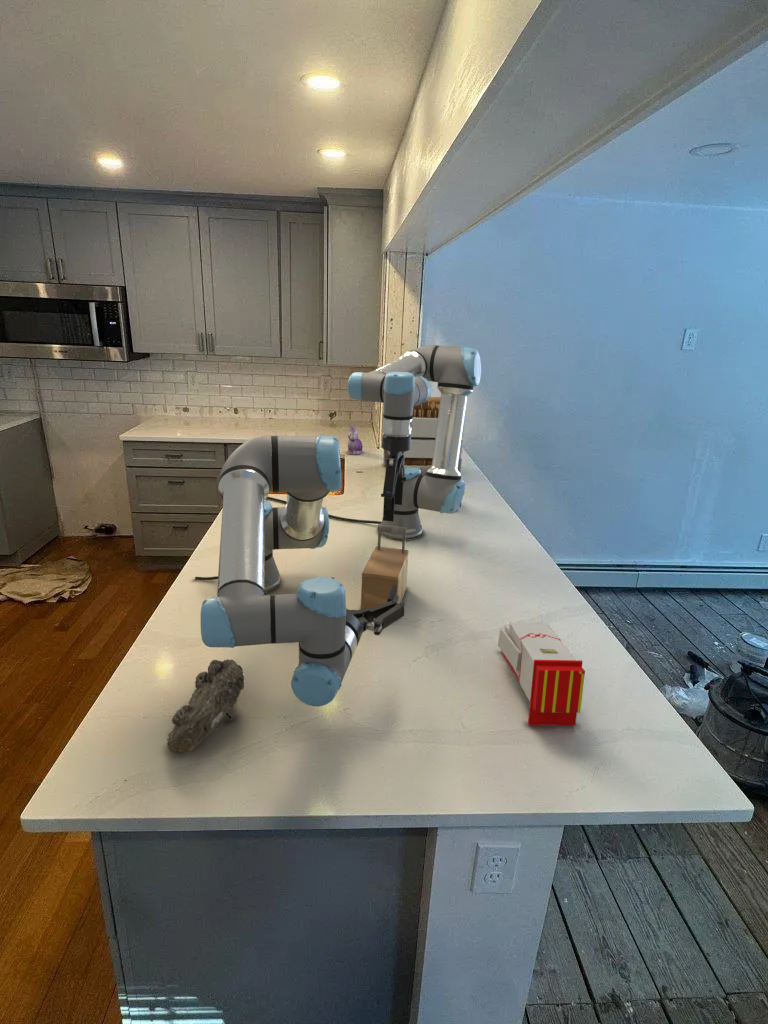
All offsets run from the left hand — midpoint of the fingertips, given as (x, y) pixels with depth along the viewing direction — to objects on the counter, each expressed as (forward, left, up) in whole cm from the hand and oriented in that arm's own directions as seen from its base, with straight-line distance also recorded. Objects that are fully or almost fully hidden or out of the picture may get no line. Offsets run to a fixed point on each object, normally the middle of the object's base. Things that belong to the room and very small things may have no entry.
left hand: (363, 586), depth 122 cm
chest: (0, +28, -18) cm, 33 cm away
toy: (+38, +1, -18) cm, 42 cm away
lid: (0, +28, -7) cm, 29 cm away
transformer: (-7, +157, -18) cm, 158 cm away
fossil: (-23, -26, -18) cm, 39 cm away
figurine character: (+12, +112, -18) cm, 114 cm away
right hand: (0, +35, +5) cm, 35 cm away
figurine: (-47, +185, -18) cm, 192 cm away
